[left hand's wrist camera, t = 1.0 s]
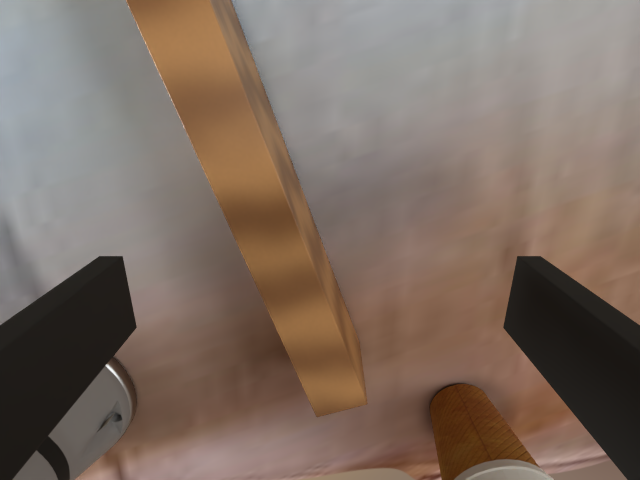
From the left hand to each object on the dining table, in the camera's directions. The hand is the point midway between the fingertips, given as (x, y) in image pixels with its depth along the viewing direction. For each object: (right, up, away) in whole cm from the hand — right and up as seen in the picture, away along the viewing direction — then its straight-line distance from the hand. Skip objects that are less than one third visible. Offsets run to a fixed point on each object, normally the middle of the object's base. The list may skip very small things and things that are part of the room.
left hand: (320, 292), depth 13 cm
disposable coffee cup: (+15, -16, +28) cm, 36 cm away
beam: (-10, +24, +14) cm, 29 cm away
